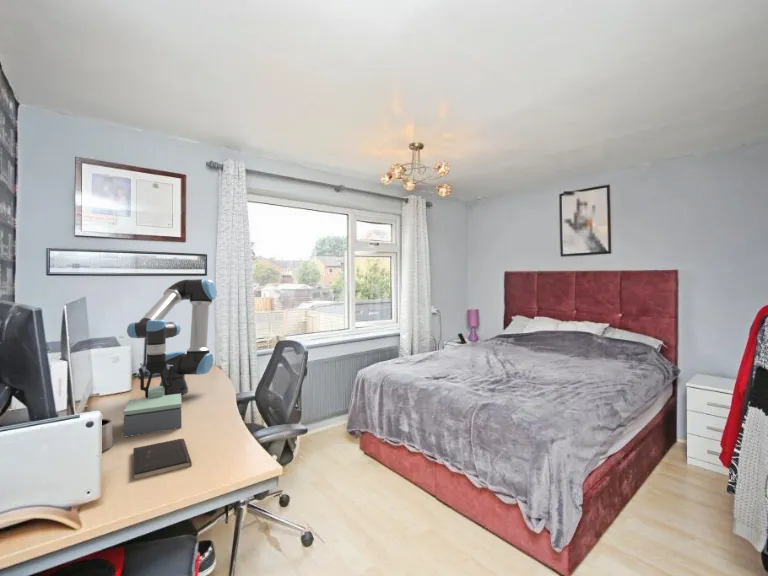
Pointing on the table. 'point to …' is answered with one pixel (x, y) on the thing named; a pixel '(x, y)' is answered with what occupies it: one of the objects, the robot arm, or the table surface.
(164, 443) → the hardcover book
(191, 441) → the table surface
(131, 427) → the tub
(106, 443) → the planter
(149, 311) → the robot arm
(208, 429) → the table surface
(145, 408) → the lid
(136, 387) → the table surface
